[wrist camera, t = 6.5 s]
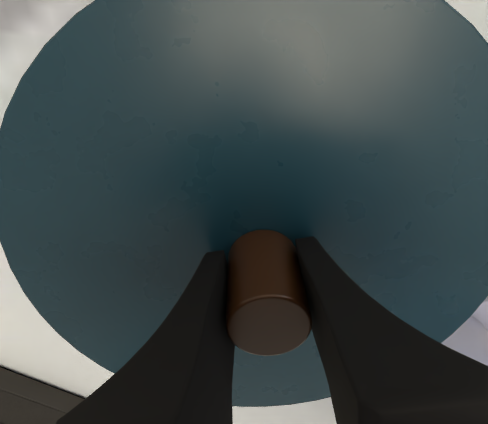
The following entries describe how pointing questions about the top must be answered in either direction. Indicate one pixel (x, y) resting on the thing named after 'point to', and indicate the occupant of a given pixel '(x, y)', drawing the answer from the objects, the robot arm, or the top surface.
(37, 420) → the laptop
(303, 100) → the lid
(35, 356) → the top surface
